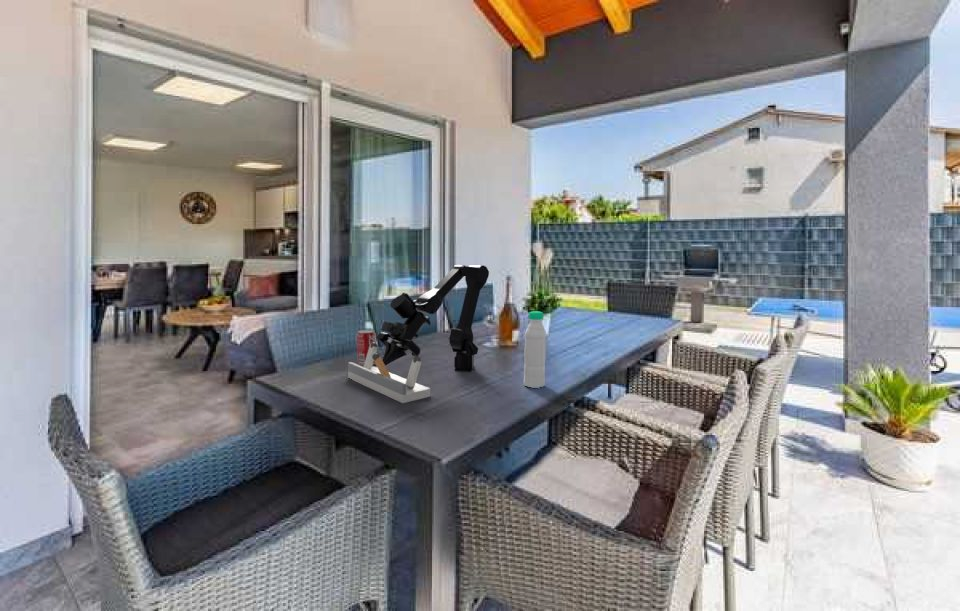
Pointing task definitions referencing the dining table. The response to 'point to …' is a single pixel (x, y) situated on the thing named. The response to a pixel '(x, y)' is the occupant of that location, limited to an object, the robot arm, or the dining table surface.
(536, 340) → the water bottle
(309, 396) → the dining table surface
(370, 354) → the cream lever
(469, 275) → the robot arm
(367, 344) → the soda can
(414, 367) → the cream lever
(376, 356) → the lever orange
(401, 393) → the switch panel
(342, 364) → the dining table surface
